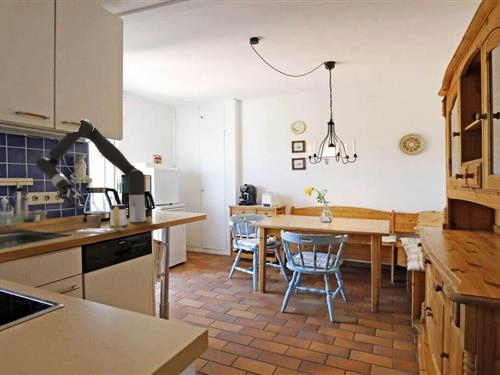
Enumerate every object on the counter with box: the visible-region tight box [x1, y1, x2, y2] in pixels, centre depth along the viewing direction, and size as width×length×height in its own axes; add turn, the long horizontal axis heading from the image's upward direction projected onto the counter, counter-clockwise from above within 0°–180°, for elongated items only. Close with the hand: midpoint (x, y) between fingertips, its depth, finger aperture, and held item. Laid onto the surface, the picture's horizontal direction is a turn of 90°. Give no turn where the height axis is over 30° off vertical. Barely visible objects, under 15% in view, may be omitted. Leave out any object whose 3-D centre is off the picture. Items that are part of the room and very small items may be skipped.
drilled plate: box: [75, 227, 115, 235], centre depth 165 cm, size 8×17×1 cm, turn 73°
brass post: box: [111, 207, 122, 231], centre depth 172 cm, size 4×4×12 cm
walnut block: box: [86, 214, 102, 229], centre depth 181 cm, size 5×5×7 cm
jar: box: [109, 203, 128, 227], centre depth 190 cm, size 9×8×12 cm
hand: (78, 202), depth 184 cm, fingers open, 8 cm apart
